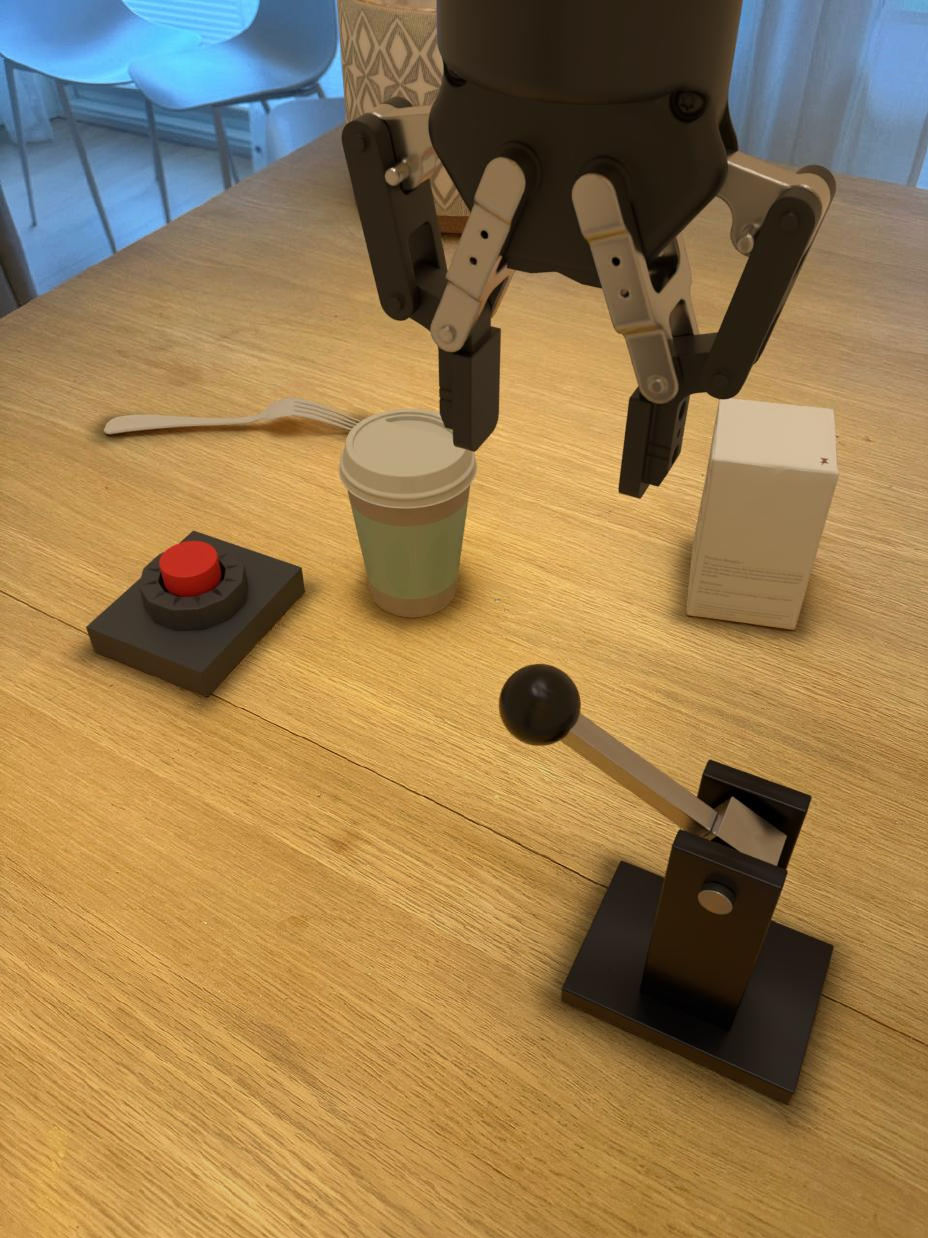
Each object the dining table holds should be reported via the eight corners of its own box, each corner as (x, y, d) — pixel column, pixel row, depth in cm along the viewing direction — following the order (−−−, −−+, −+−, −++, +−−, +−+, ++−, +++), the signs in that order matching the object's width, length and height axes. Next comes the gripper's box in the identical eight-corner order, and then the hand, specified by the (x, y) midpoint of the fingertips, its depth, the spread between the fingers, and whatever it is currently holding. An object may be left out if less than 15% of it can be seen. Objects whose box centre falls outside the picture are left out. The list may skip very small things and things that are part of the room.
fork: (119, 443, 89) (107, 415, 87) (360, 417, 88) (354, 388, 86) (111, 462, 87) (99, 433, 85) (358, 436, 86) (352, 407, 84)
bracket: (559, 1000, 50) (579, 843, 42) (618, 872, 55) (646, 708, 47) (789, 1106, 47) (862, 957, 38) (829, 957, 52) (902, 797, 43)
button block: (207, 697, 65) (196, 651, 62) (93, 651, 68) (78, 605, 65) (305, 591, 72) (299, 545, 69) (198, 554, 75) (188, 509, 72)
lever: (472, 727, 44) (505, 687, 41) (506, 674, 46) (540, 634, 43) (728, 912, 44) (777, 883, 41) (750, 850, 46) (798, 820, 43)
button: (198, 604, 66) (193, 583, 64) (152, 587, 67) (146, 566, 66) (232, 571, 68) (228, 550, 67) (187, 555, 69) (183, 534, 68)
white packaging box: (796, 562, 74) (839, 406, 65) (795, 634, 69) (842, 474, 60) (690, 547, 75) (718, 392, 67) (681, 616, 70) (711, 457, 61)
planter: (531, 258, 110) (541, 20, 95) (314, 223, 117) (291, -4, 102) (597, 174, 128) (614, -39, 113) (404, 148, 134) (396, -56, 119)
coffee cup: (500, 602, 71) (504, 452, 63) (389, 649, 68) (378, 498, 60) (434, 535, 76) (431, 389, 68) (329, 576, 73) (311, 428, 65)
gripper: (240, -162, 24) (314, 463, 35) (894, -114, 19) (733, 590, 31) (402, -196, 29) (421, 362, 40) (954, -165, 24) (795, 458, 35)
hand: (556, 458), depth 35 cm, fingers open, 5 cm apart
